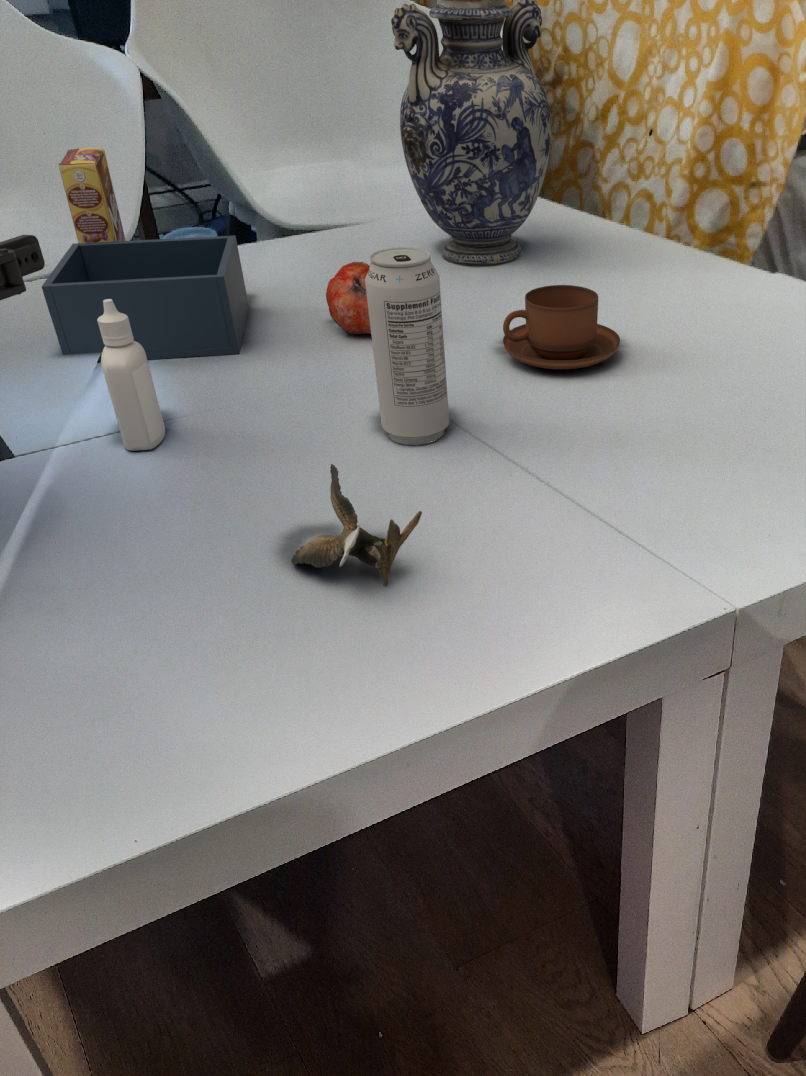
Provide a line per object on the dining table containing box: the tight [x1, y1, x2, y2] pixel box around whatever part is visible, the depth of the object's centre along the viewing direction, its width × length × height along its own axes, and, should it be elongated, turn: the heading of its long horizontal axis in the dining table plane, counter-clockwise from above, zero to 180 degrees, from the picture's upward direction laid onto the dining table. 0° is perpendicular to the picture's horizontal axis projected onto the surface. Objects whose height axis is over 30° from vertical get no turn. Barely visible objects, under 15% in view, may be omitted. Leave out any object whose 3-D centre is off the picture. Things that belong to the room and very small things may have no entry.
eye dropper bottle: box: [97, 299, 166, 452], centre depth 86 cm, size 4×6×12 cm
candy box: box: [58, 147, 127, 243], centre depth 116 cm, size 9×4×15 cm, turn 13°
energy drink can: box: [365, 246, 450, 446], centre depth 86 cm, size 6×6×15 cm
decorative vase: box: [390, 0, 552, 266], centre depth 124 cm, size 21×19×28 cm
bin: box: [41, 234, 250, 364], centre depth 108 cm, size 18×16×8 cm
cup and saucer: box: [502, 284, 621, 370], centre depth 102 cm, size 12×12×6 cm
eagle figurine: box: [290, 463, 423, 587], centre depth 71 cm, size 8×7×9 cm
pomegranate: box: [325, 261, 371, 335], centre depth 109 cm, size 7×7×10 cm
